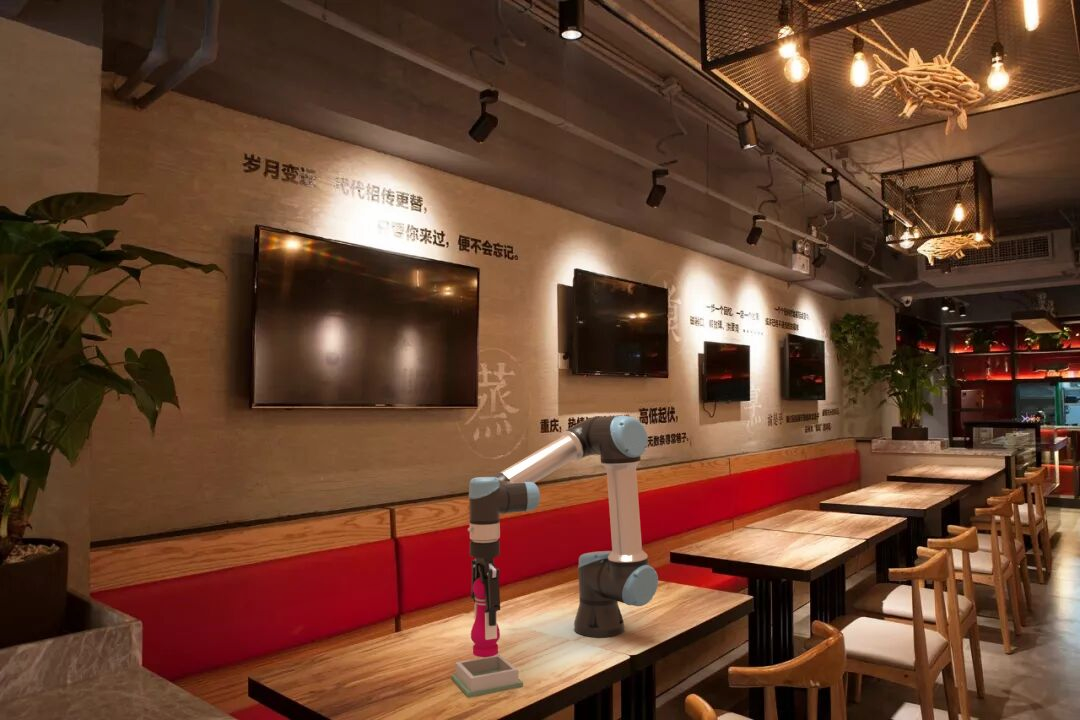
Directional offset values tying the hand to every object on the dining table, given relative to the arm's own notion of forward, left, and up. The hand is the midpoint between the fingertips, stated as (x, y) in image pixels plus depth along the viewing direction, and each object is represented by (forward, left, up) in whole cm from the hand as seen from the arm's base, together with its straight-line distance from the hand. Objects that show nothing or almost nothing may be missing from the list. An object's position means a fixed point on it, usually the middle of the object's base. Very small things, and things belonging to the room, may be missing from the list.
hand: (485, 634), depth 173 cm
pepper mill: (0, 0, -5) cm, 5 cm away
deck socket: (0, 0, -12) cm, 12 cm away
